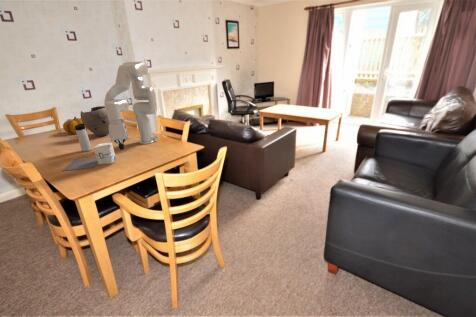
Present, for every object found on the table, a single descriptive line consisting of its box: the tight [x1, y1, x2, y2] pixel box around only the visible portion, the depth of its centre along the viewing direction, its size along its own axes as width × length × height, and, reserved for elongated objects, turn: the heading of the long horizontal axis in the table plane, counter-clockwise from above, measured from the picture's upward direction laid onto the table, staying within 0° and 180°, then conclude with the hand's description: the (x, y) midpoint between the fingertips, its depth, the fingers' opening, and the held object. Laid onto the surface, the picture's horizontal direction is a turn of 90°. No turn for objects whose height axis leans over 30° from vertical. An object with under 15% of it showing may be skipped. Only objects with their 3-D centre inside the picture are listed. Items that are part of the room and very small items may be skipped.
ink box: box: [93, 142, 117, 165], centre depth 156 cm, size 8×8×12 cm
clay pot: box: [79, 105, 109, 137], centre depth 211 cm, size 24×24×25 cm
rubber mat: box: [61, 156, 98, 172], centre depth 156 cm, size 18×18×1 cm
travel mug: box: [75, 124, 93, 153], centre depth 176 cm, size 6×7×20 cm
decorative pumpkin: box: [62, 116, 89, 135], centre depth 226 cm, size 20×22×15 cm
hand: (122, 149), depth 157 cm, fingers closed
